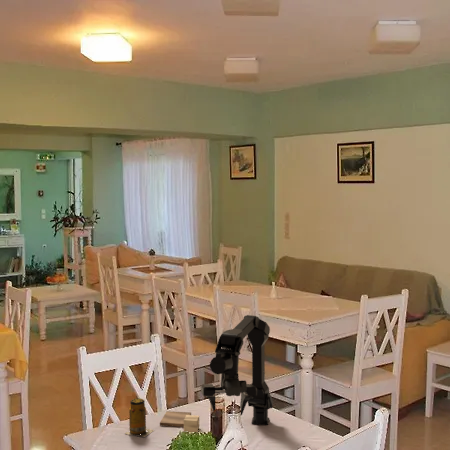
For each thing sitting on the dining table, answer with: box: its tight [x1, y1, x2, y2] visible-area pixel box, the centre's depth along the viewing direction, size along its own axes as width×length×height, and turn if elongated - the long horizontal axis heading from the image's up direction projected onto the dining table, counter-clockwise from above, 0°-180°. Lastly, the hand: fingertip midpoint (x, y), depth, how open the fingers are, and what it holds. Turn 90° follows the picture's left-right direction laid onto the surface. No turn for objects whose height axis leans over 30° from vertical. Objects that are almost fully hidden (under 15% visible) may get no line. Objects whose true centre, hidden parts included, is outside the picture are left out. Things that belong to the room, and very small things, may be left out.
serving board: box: [159, 410, 192, 428], centre depth 238 cm, size 12×10×1 cm
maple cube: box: [183, 414, 200, 432], centre depth 228 cm, size 5×5×5 cm
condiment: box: [124, 398, 155, 438], centre depth 226 cm, size 7×8×12 cm
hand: (227, 415), depth 208 cm, fingers open, 9 cm apart
